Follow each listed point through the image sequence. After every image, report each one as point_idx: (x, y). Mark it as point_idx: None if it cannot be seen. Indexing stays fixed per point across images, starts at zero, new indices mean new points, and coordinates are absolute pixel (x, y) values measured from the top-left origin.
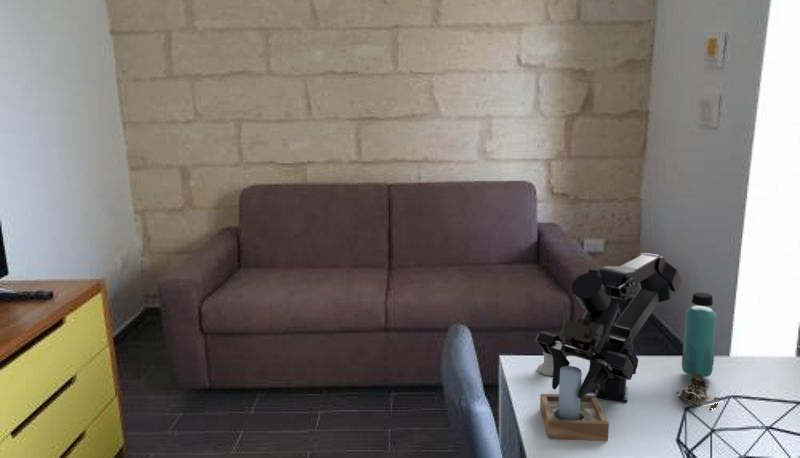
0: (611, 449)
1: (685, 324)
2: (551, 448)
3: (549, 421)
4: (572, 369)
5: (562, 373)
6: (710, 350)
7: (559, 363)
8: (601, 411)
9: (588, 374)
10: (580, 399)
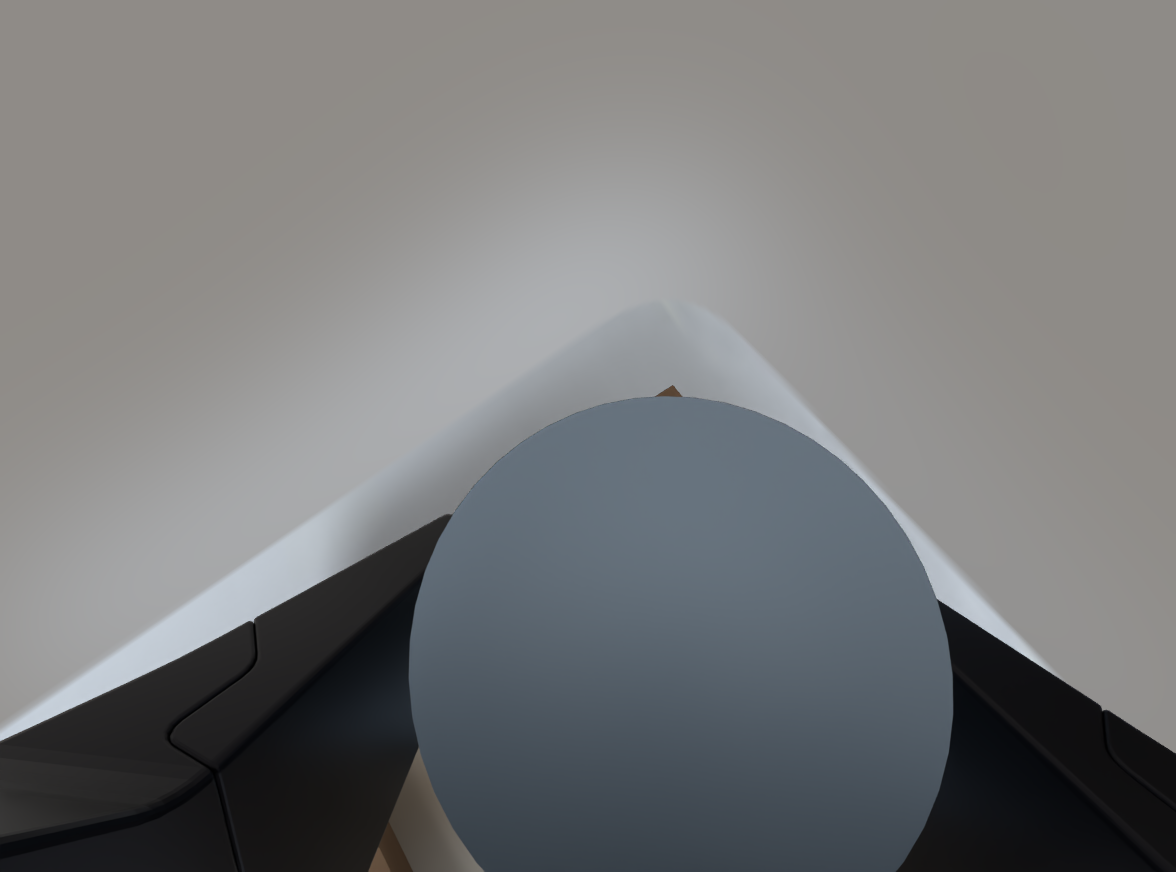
0: (264, 577)
1: None
2: (594, 362)
3: (674, 393)
4: (671, 728)
5: (764, 423)
6: None
7: (1143, 842)
8: None
9: (226, 707)
10: None
